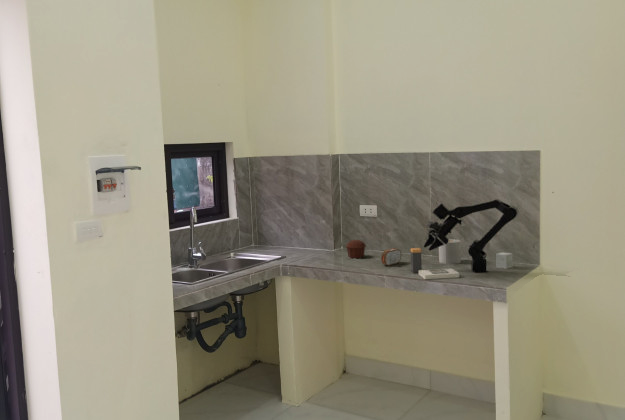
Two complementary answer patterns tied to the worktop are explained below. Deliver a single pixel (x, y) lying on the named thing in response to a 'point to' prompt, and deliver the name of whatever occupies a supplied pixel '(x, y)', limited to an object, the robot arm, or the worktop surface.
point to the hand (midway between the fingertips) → (426, 248)
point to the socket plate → (438, 273)
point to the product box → (504, 260)
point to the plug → (416, 260)
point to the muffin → (356, 249)
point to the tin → (391, 256)
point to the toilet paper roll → (450, 252)
